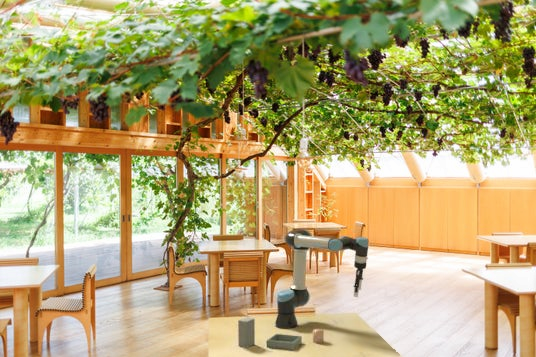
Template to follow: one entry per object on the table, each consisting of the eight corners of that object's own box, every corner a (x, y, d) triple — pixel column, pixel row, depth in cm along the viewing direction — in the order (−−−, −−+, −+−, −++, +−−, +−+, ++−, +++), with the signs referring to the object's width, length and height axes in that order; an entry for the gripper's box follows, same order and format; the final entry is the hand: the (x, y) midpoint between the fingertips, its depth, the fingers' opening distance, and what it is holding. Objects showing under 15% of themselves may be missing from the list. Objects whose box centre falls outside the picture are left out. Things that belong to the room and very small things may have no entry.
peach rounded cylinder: (311, 342, 304) (311, 331, 305) (315, 339, 310) (314, 328, 310) (321, 343, 302) (321, 332, 302) (325, 340, 308) (324, 329, 308)
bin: (266, 347, 298) (266, 340, 298) (276, 340, 311) (276, 333, 311) (292, 350, 291) (292, 343, 291) (301, 342, 304) (301, 336, 304)
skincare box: (247, 342, 308) (246, 316, 308) (255, 344, 303) (255, 318, 304) (237, 346, 301) (237, 319, 302) (246, 348, 297) (245, 321, 297)
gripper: (364, 268, 310) (360, 301, 314) (368, 256, 334) (365, 287, 337) (351, 266, 312) (348, 298, 316) (357, 255, 336) (354, 285, 339)
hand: (357, 292), depth 326 cm, fingers open, 13 cm apart
